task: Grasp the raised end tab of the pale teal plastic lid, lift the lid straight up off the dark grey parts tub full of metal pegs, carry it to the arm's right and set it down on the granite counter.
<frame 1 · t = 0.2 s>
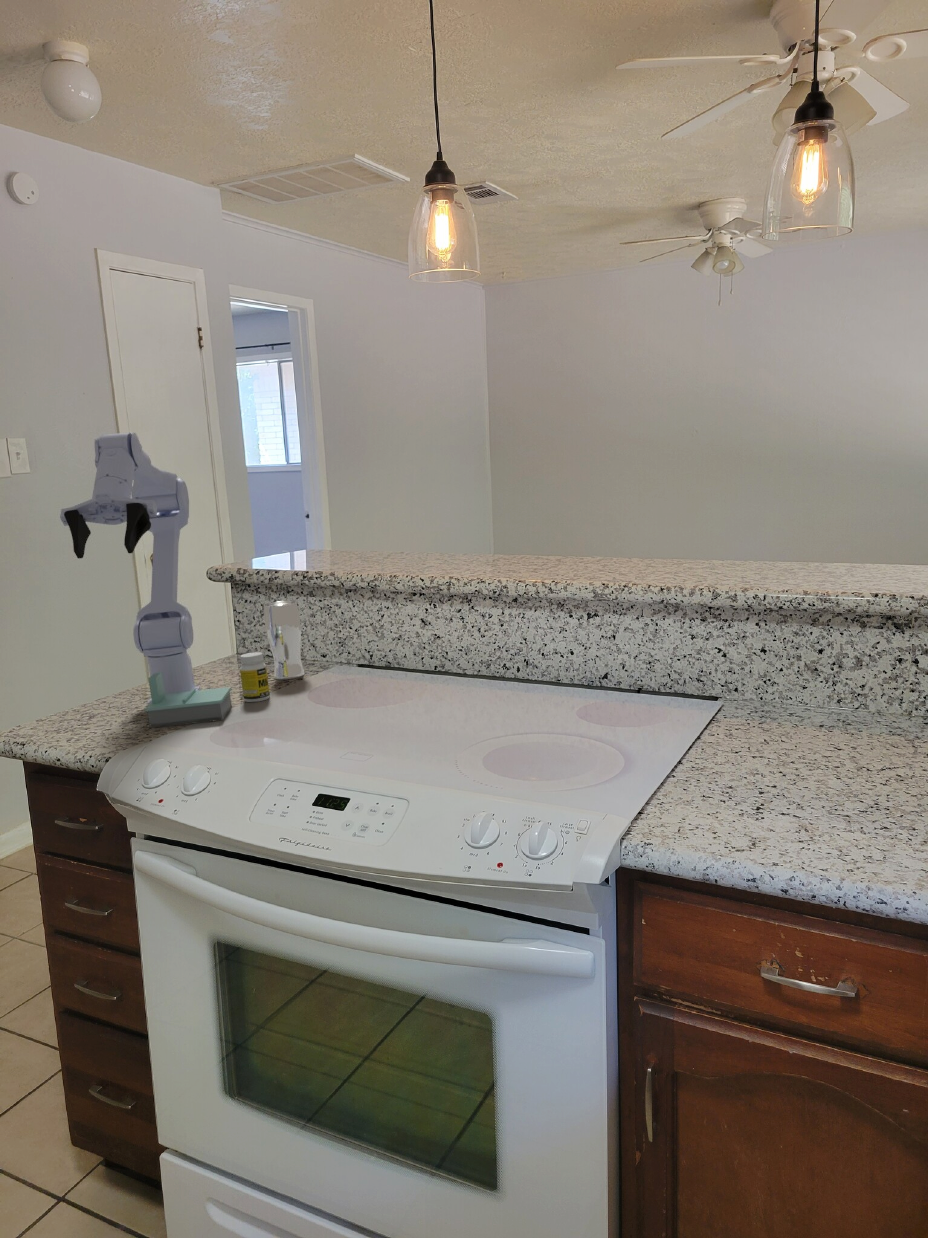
hand: (103, 551, 137), 30 cm above the counter, tool tilted 45°, fingers open, 7 cm apart
beer glass: (289, 677, 179), on the counter
lid: (189, 700, 153), point 3 cm above the counter, touching tub
supplement bottle: (257, 700, 162), on the counter
tub: (192, 716, 153), on the counter
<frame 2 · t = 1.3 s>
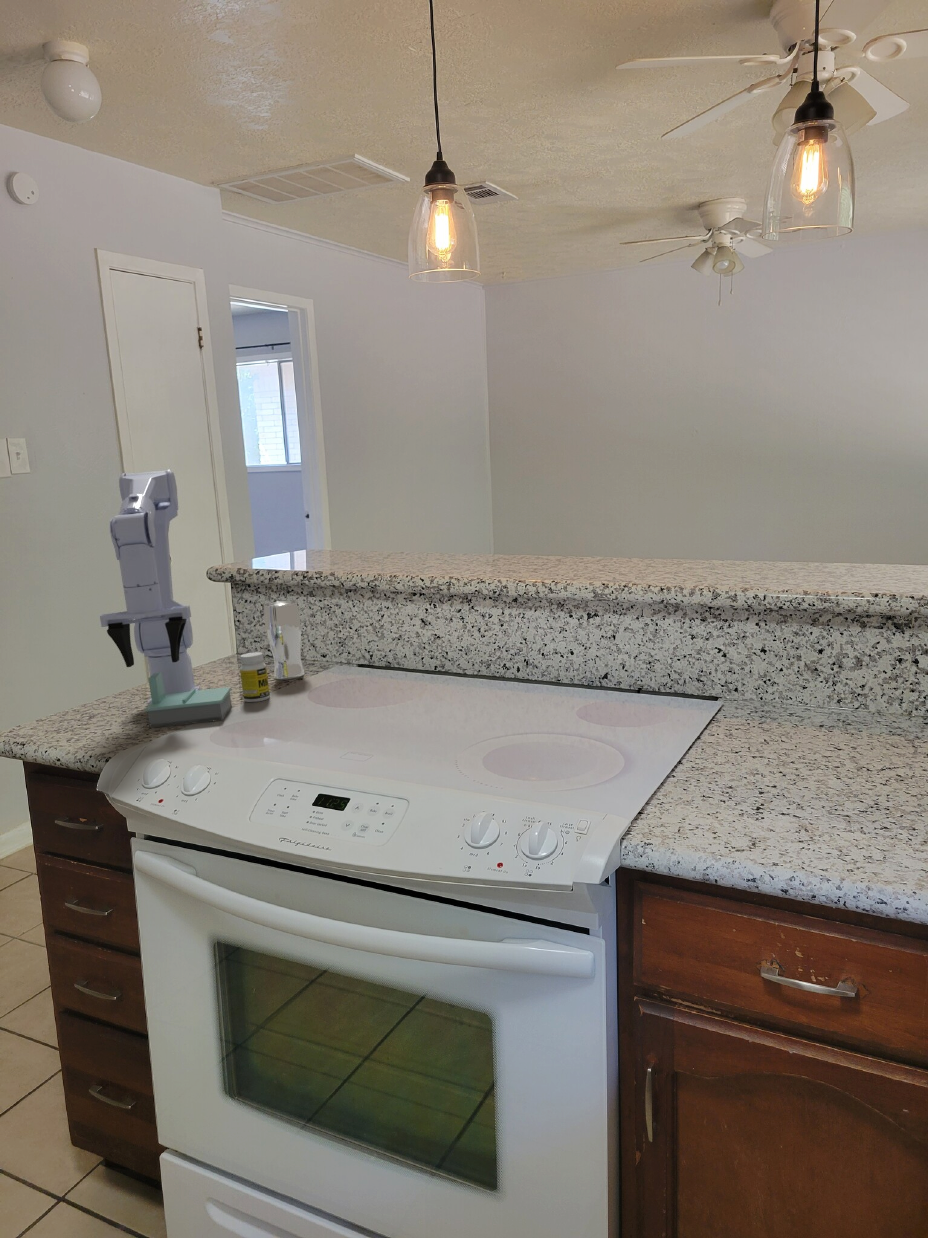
hand: (153, 663, 151), 10 cm above the counter, tool pointing down, fingers open, 7 cm apart
nothing on the counter moved.
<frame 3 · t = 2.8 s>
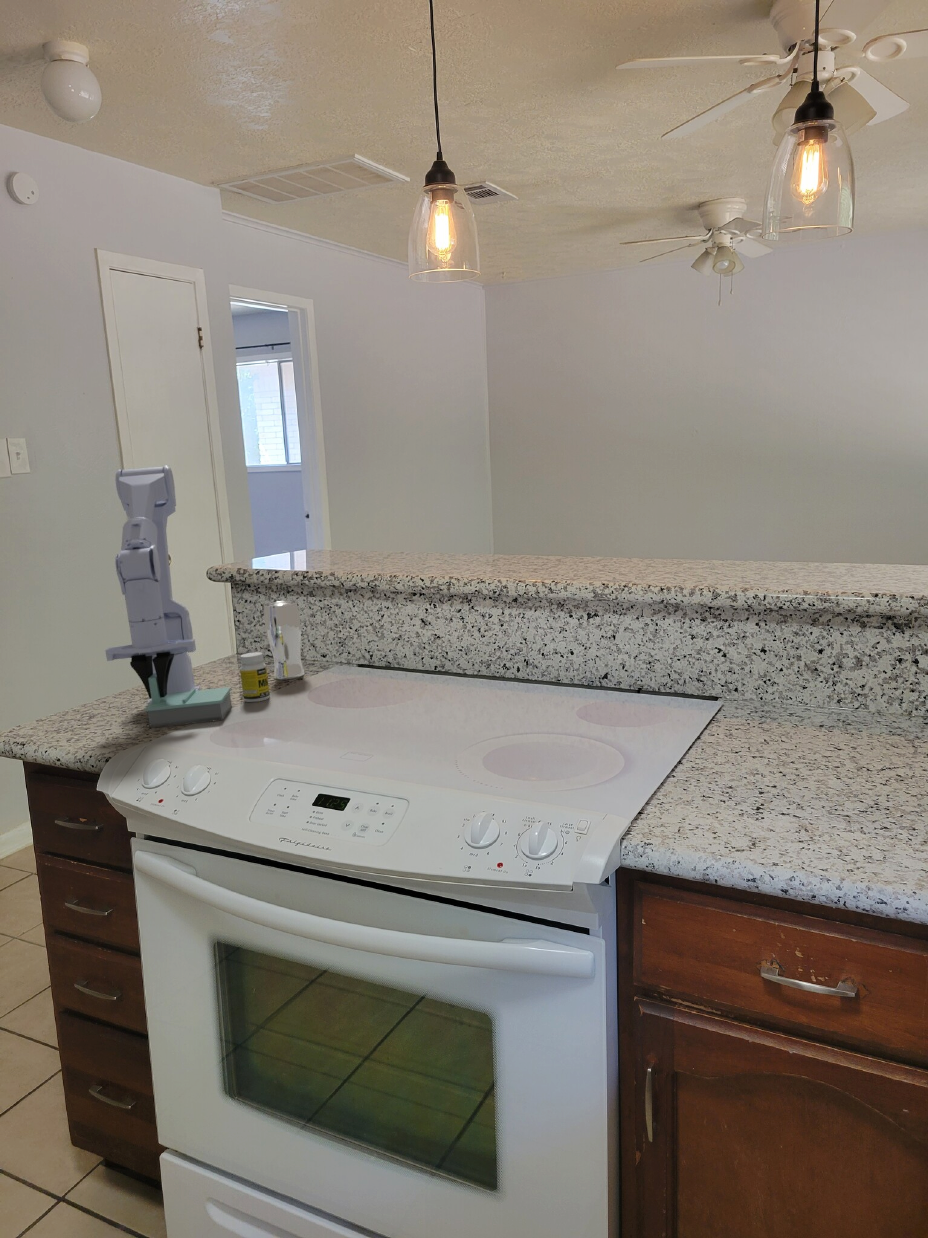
hand: (158, 696, 152), 4 cm above the counter, tool pointing down, fingers closed on lid
lid: (189, 700, 153), point 3 cm above the counter, touching gripper, tub
everything else where it was.
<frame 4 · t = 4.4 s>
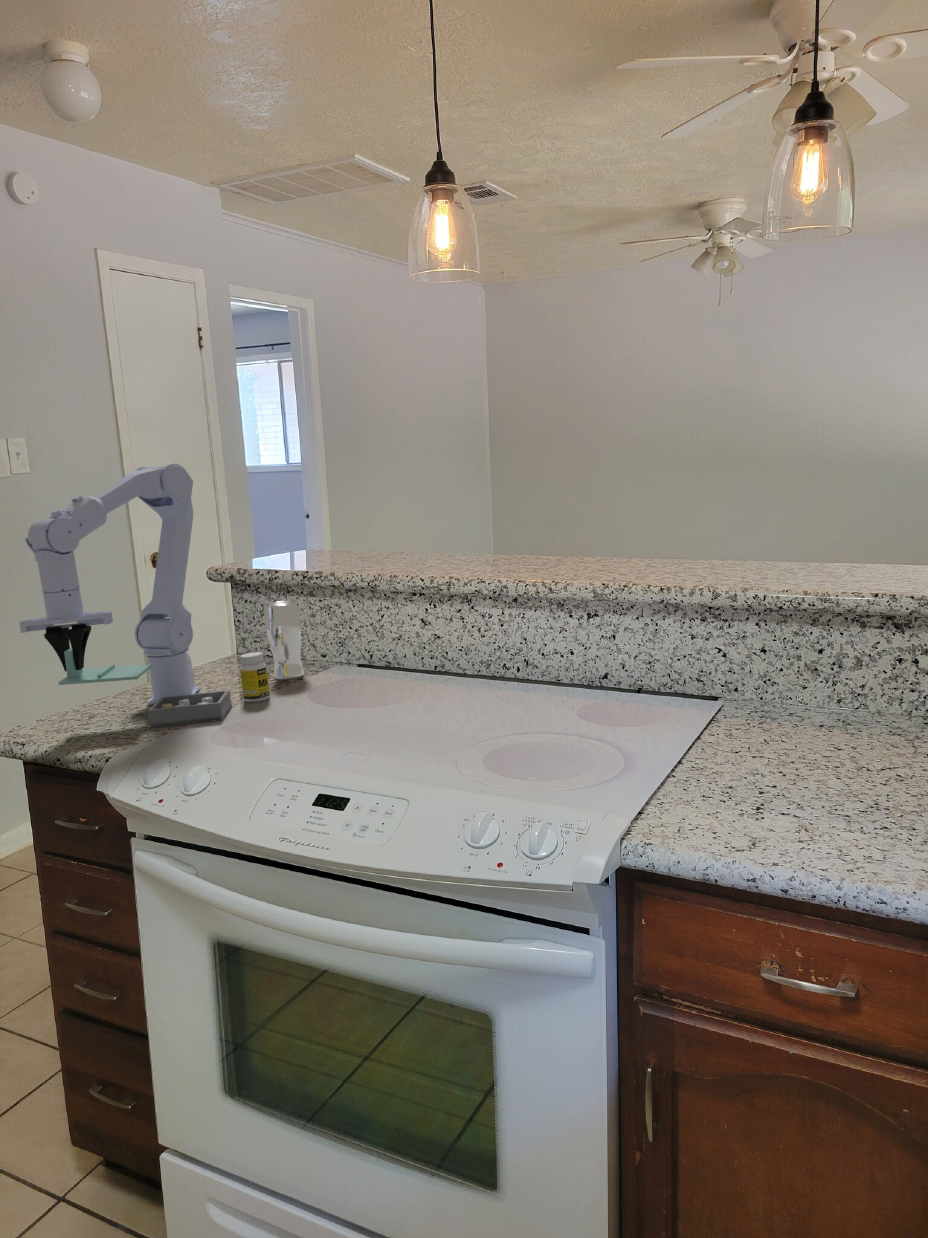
hand: (74, 669, 150), 10 cm above the counter, tool pointing down, fingers closed on lid
lid: (106, 675, 151), point 9 cm above the counter, touching gripper
everything else where it was.
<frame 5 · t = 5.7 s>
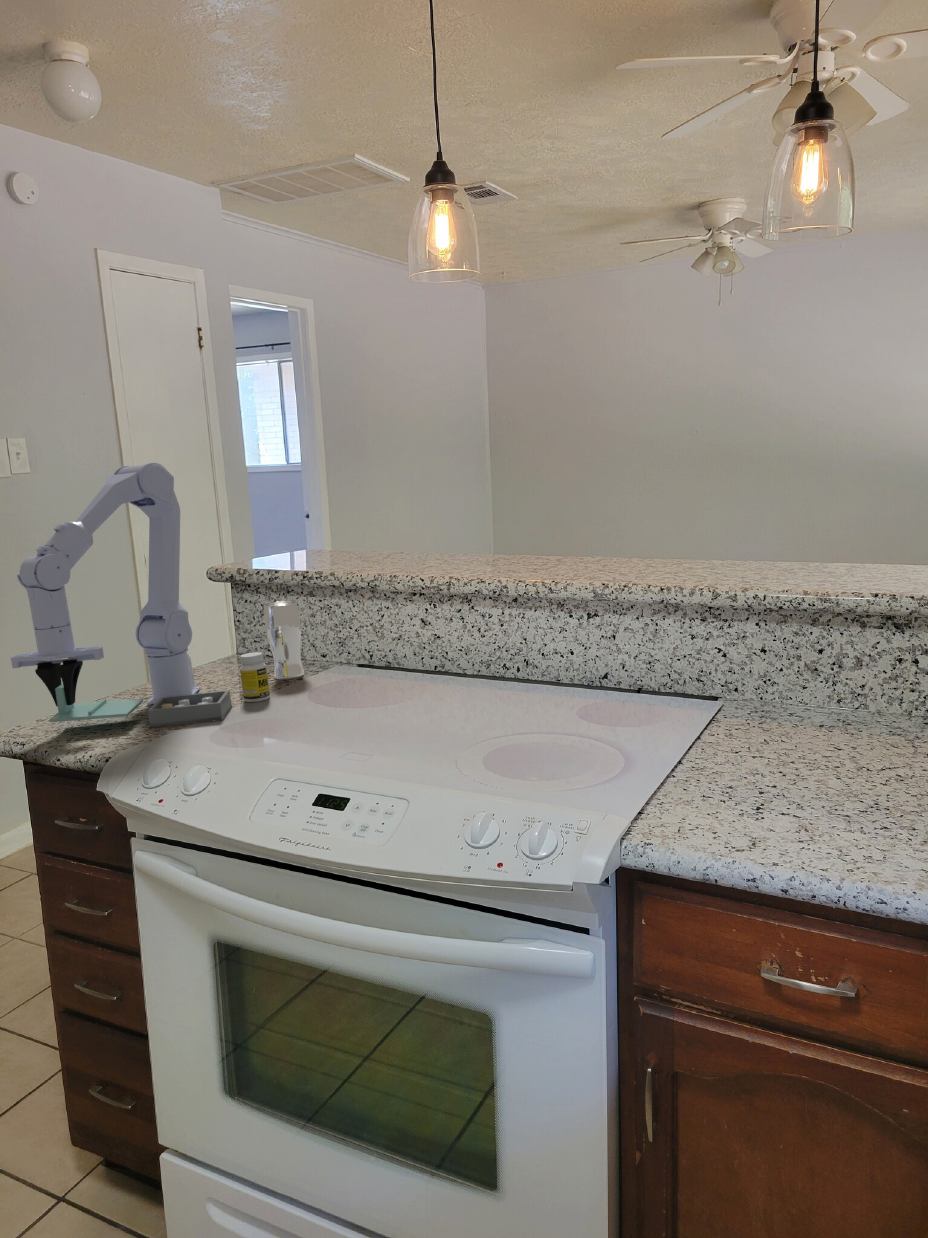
hand: (65, 704, 151), 5 cm above the counter, tool pointing down, fingers closed on lid
lid: (98, 711, 152), point 3 cm above the counter, touching gripper
everything else where it was.
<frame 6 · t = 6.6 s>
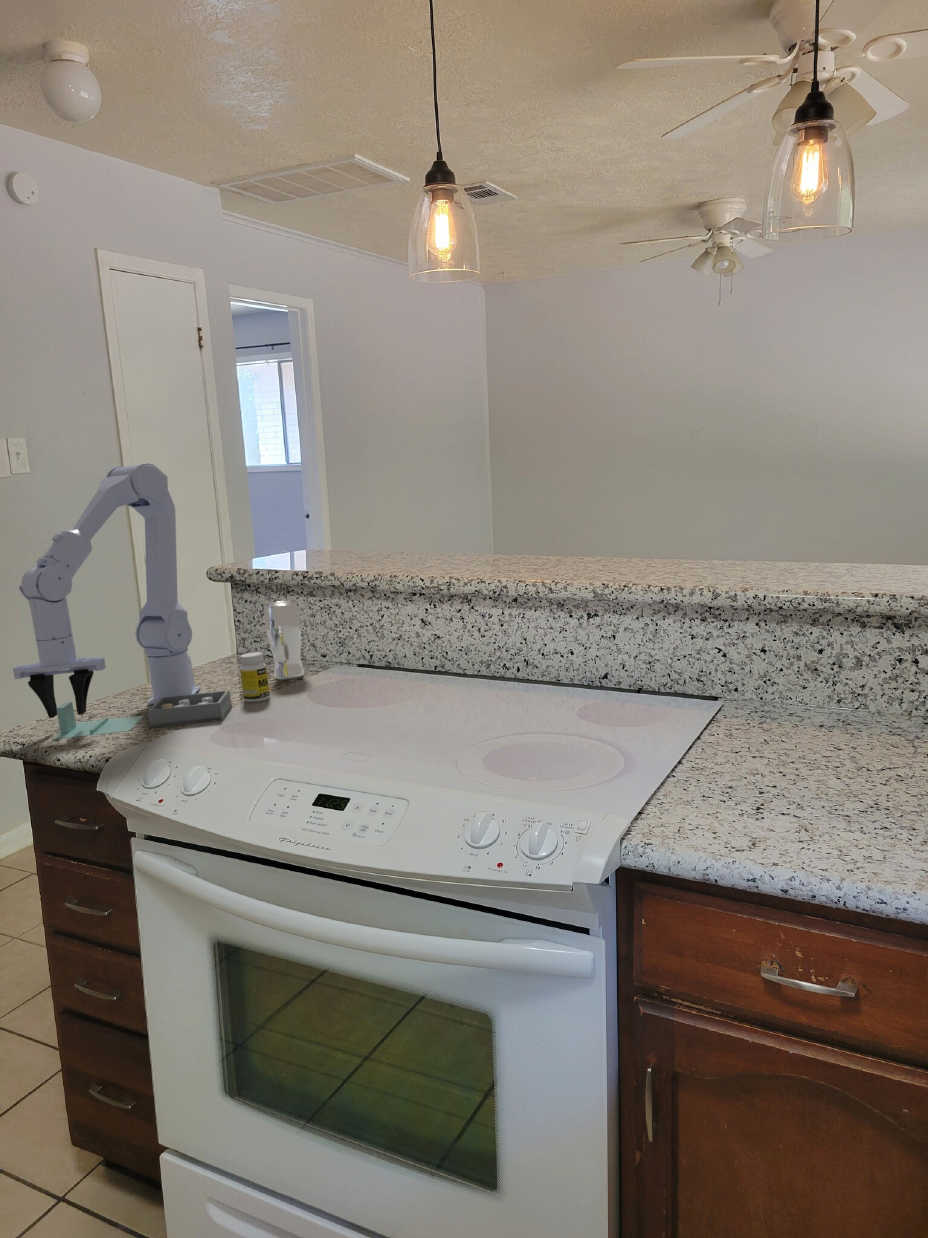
hand: (67, 714, 152), 3 cm above the counter, tool pointing down, fingers open, 4 cm apart
lid: (100, 729, 152), on the counter
everything else where it was.
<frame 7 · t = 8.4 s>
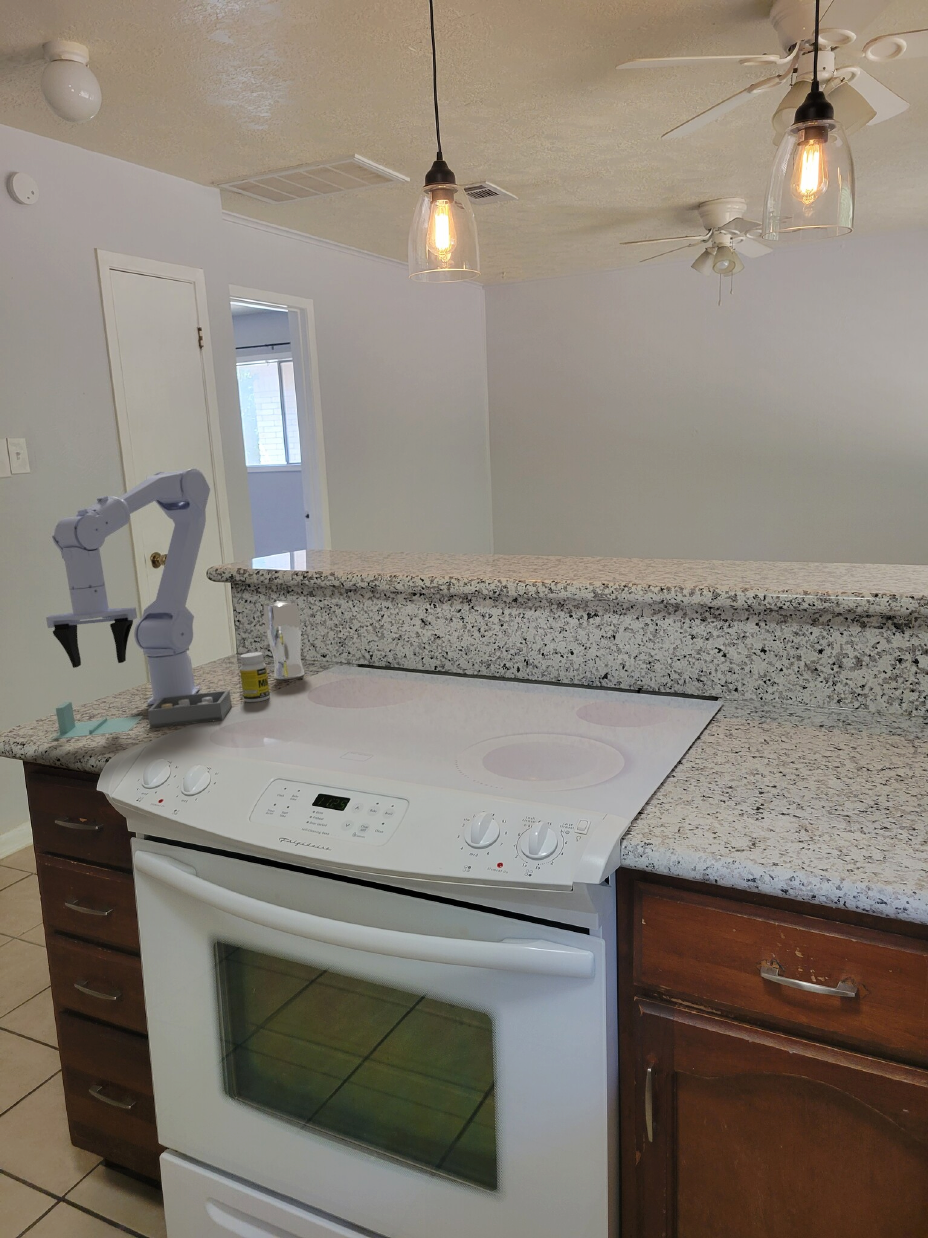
hand: (99, 664, 153), 10 cm above the counter, tool pointing down, fingers open, 7 cm apart
nothing on the counter moved.
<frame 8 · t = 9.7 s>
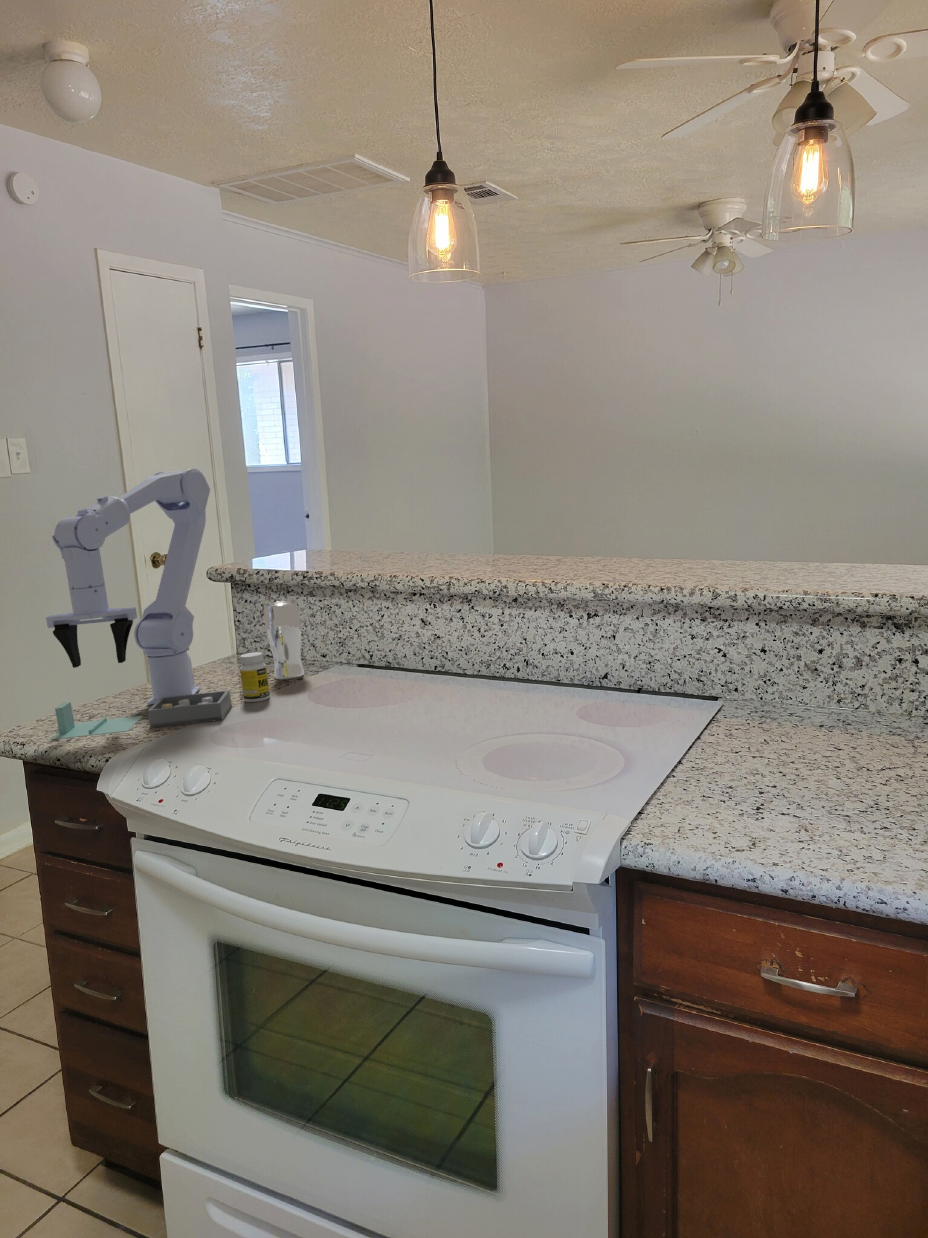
hand: (99, 664, 153), 10 cm above the counter, tool pointing down, fingers open, 7 cm apart
nothing on the counter moved.
at the end: lid inside the target area (1.0 cm from its centre), on the counter; lid touching counter; the gripper is holding nothing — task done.
